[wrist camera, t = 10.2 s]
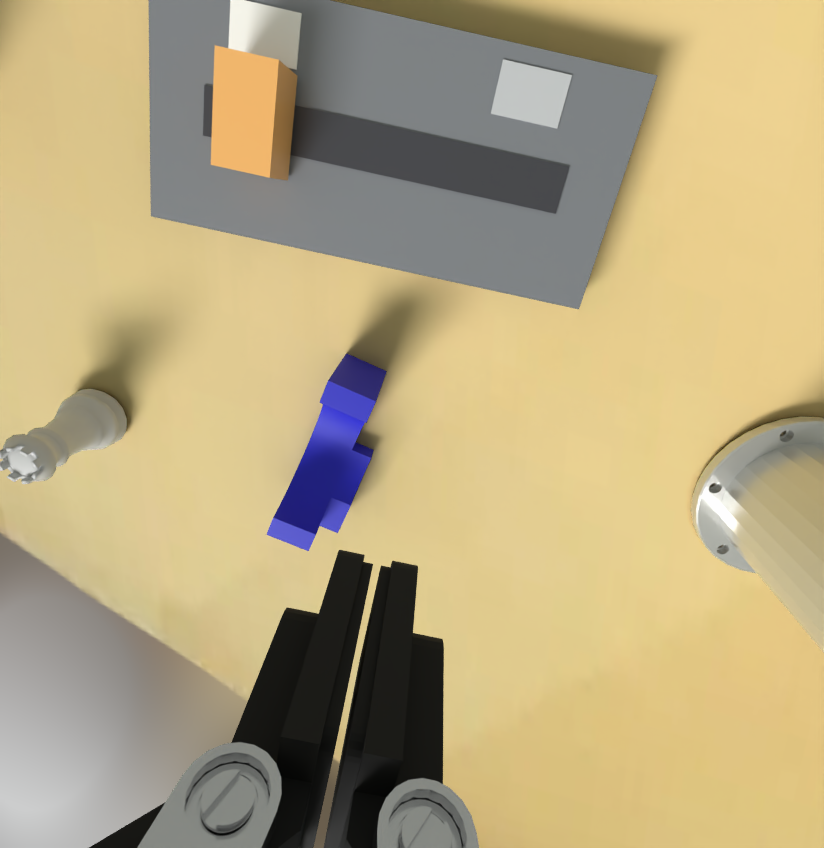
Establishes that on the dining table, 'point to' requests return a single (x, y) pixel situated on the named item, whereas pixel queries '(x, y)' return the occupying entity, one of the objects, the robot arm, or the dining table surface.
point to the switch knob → (252, 113)
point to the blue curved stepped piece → (330, 456)
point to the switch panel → (401, 143)
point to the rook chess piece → (64, 436)
